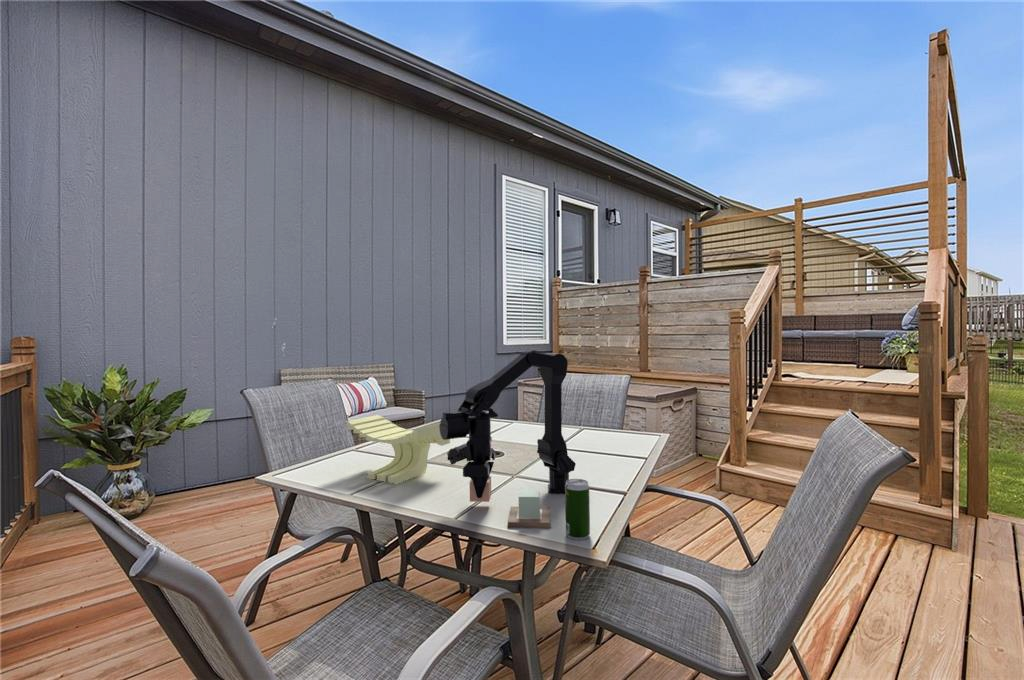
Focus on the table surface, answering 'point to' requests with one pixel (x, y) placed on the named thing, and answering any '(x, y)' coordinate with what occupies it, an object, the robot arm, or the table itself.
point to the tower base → (529, 519)
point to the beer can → (577, 509)
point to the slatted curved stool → (399, 446)
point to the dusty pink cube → (486, 493)
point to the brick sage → (529, 504)
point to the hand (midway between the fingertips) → (480, 494)
